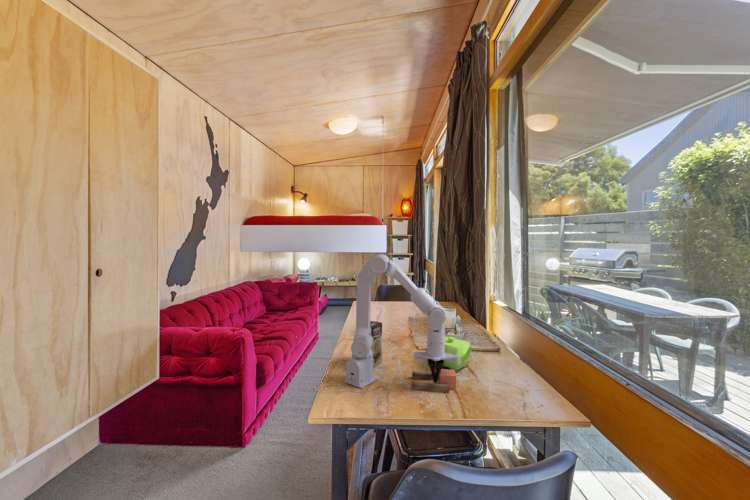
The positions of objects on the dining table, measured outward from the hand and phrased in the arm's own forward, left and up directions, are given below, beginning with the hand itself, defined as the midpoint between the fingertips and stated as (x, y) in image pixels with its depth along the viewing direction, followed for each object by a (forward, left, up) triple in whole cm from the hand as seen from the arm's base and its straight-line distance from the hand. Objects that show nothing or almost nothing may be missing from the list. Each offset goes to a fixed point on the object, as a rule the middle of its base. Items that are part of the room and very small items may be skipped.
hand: (435, 381), depth 112 cm
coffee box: (0, +28, -2) cm, 28 cm away
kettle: (+17, +2, -2) cm, 17 cm away
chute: (-1, +3, -1) cm, 3 cm away
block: (+2, -4, -1) cm, 4 cm away
